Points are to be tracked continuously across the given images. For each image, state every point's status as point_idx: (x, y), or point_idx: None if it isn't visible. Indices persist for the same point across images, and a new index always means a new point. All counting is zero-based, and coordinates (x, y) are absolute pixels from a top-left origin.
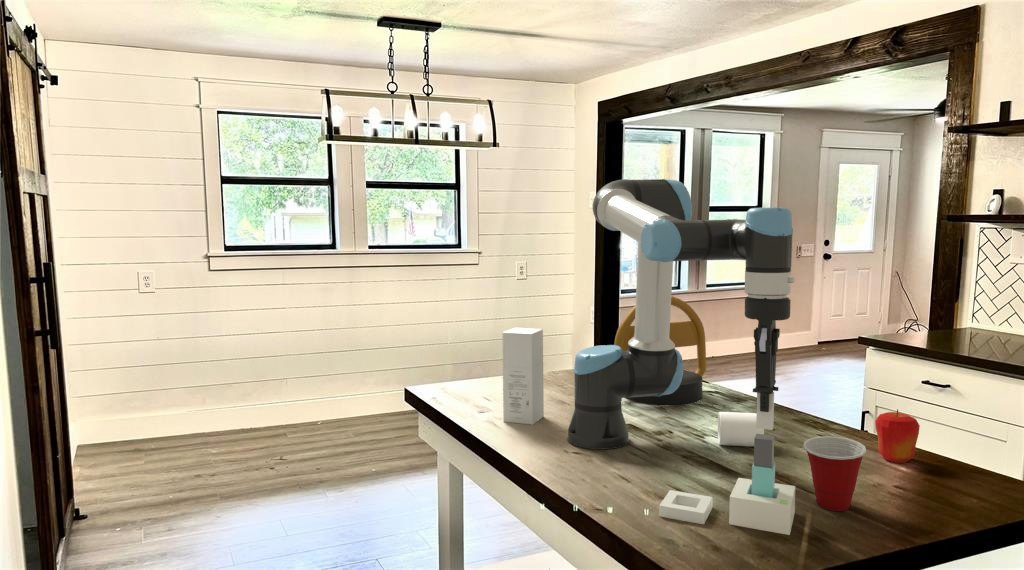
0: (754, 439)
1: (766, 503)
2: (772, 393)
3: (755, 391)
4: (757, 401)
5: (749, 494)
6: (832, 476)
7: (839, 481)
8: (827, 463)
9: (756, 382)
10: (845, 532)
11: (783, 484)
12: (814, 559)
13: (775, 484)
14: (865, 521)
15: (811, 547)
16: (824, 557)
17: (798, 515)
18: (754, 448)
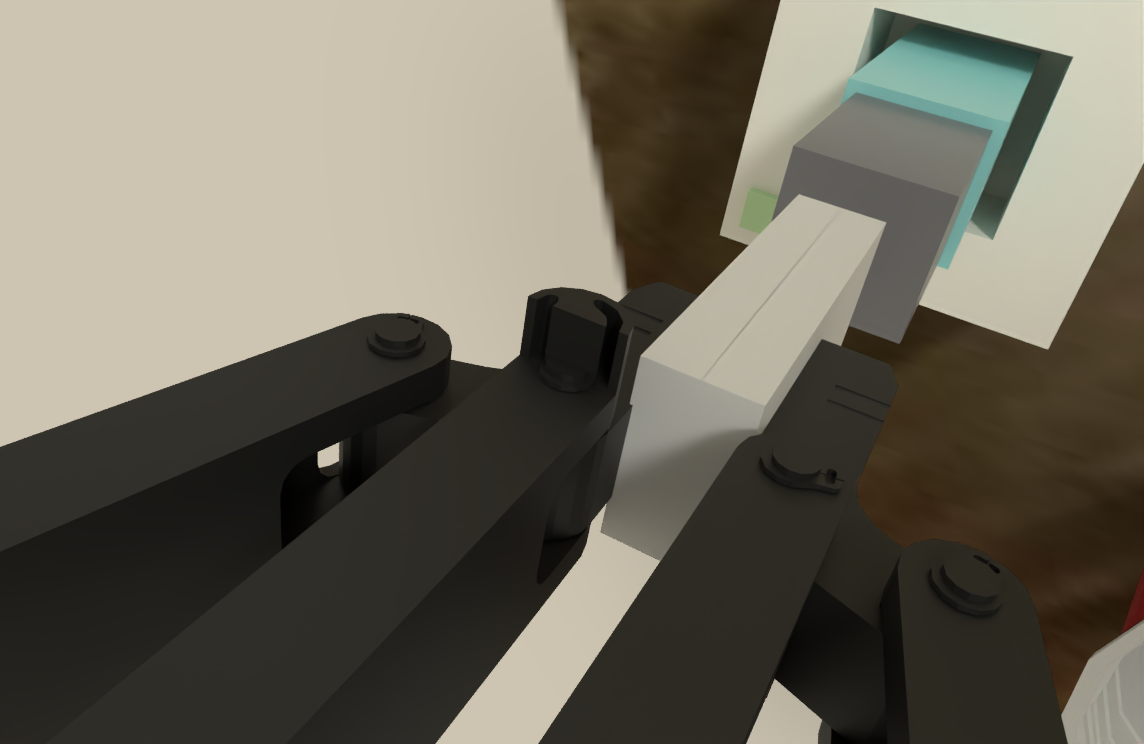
0: (795, 144)
1: (751, 114)
2: (614, 529)
3: (546, 324)
4: (693, 308)
5: (866, 26)
6: (1137, 599)
7: (1128, 613)
8: (1133, 626)
9: (262, 363)
10: (898, 444)
11: (1076, 285)
12: (626, 239)
13: (1077, 233)
14: (1034, 573)
15: (726, 258)
16: (651, 281)
17: (1101, 305)
18: (821, 126)
